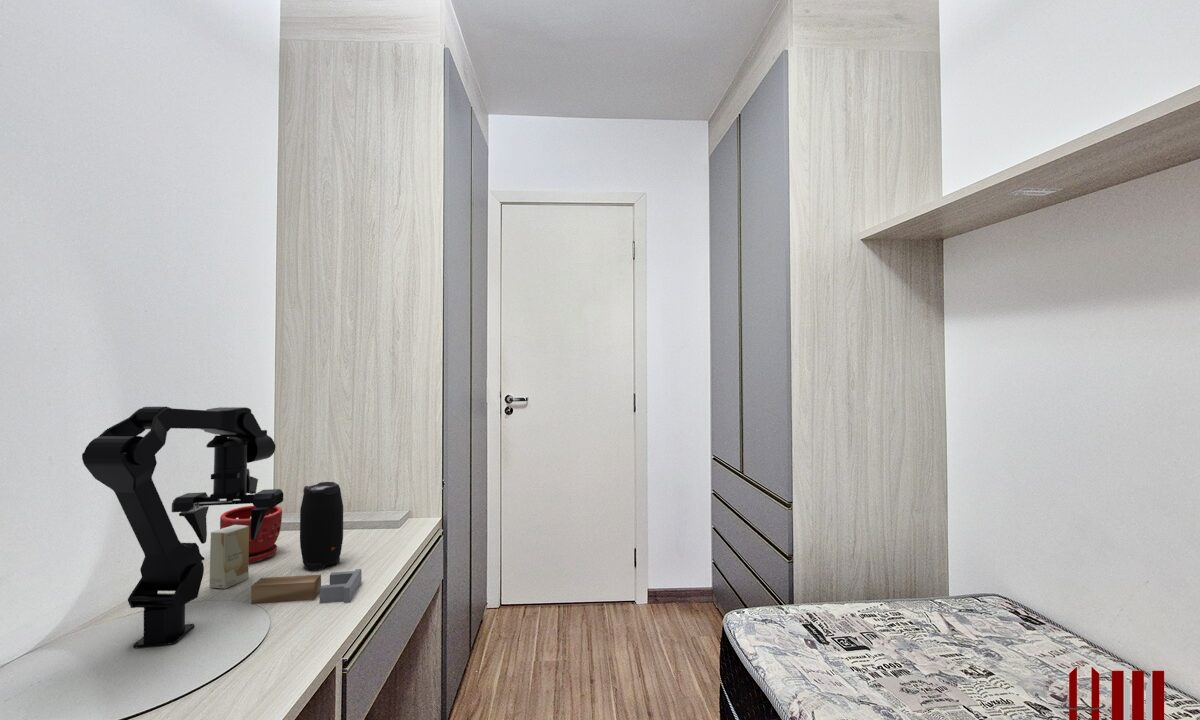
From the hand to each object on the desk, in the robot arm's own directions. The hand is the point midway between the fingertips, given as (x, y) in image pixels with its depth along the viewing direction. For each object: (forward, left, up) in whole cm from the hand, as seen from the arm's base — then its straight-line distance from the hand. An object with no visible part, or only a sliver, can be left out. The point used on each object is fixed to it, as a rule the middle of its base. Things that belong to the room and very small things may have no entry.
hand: (228, 541), depth 110 cm
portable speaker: (+16, -13, -12) cm, 24 cm away
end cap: (-2, -22, -12) cm, 25 cm away
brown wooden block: (-2, -12, -12) cm, 17 cm away
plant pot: (+25, +6, -12) cm, 28 cm away
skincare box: (+9, +4, -12) cm, 16 cm away
